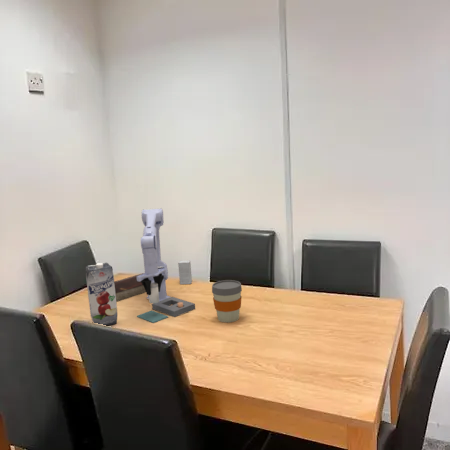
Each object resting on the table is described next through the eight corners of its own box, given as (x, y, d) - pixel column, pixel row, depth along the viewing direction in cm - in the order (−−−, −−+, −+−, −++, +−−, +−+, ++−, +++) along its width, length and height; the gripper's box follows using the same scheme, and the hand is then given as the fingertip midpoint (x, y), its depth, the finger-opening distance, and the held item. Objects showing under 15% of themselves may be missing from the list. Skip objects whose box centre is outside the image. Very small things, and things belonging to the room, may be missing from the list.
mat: (136, 316, 206) (136, 315, 206) (151, 311, 212) (151, 310, 212) (153, 323, 198) (153, 322, 198) (168, 317, 204) (168, 316, 204)
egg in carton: (176, 310, 210) (176, 303, 209) (181, 309, 212) (180, 301, 211) (180, 311, 208) (179, 304, 208) (184, 310, 210) (183, 302, 209)
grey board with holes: (152, 309, 215) (152, 303, 214) (172, 301, 223) (172, 296, 223) (174, 317, 204) (174, 311, 203) (195, 308, 212) (194, 303, 212)
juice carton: (90, 322, 202) (83, 262, 198) (114, 317, 207) (108, 258, 202) (94, 329, 195) (87, 267, 190) (119, 324, 199) (113, 262, 194)
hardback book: (143, 281, 261) (142, 272, 260) (164, 287, 247) (163, 278, 246) (96, 295, 241) (95, 286, 240) (116, 303, 228) (115, 293, 227)
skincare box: (192, 281, 253) (190, 260, 250) (190, 284, 249) (189, 262, 246) (181, 282, 253) (179, 260, 251) (179, 284, 249) (177, 262, 247)
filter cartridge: (147, 302, 205) (145, 284, 204) (155, 299, 208) (153, 281, 207) (153, 304, 202) (151, 286, 201) (161, 301, 205) (159, 283, 204)
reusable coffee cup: (223, 311, 207) (221, 278, 205) (248, 315, 201) (246, 281, 198) (208, 321, 197) (205, 287, 194) (234, 326, 190) (232, 290, 188)
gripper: (142, 268, 194) (145, 299, 197) (169, 260, 204) (172, 290, 207) (132, 265, 199) (135, 296, 202) (159, 258, 209) (162, 287, 212)
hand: (153, 293), depth 204 cm, fingers closed on filter cartridge, 4 cm apart
